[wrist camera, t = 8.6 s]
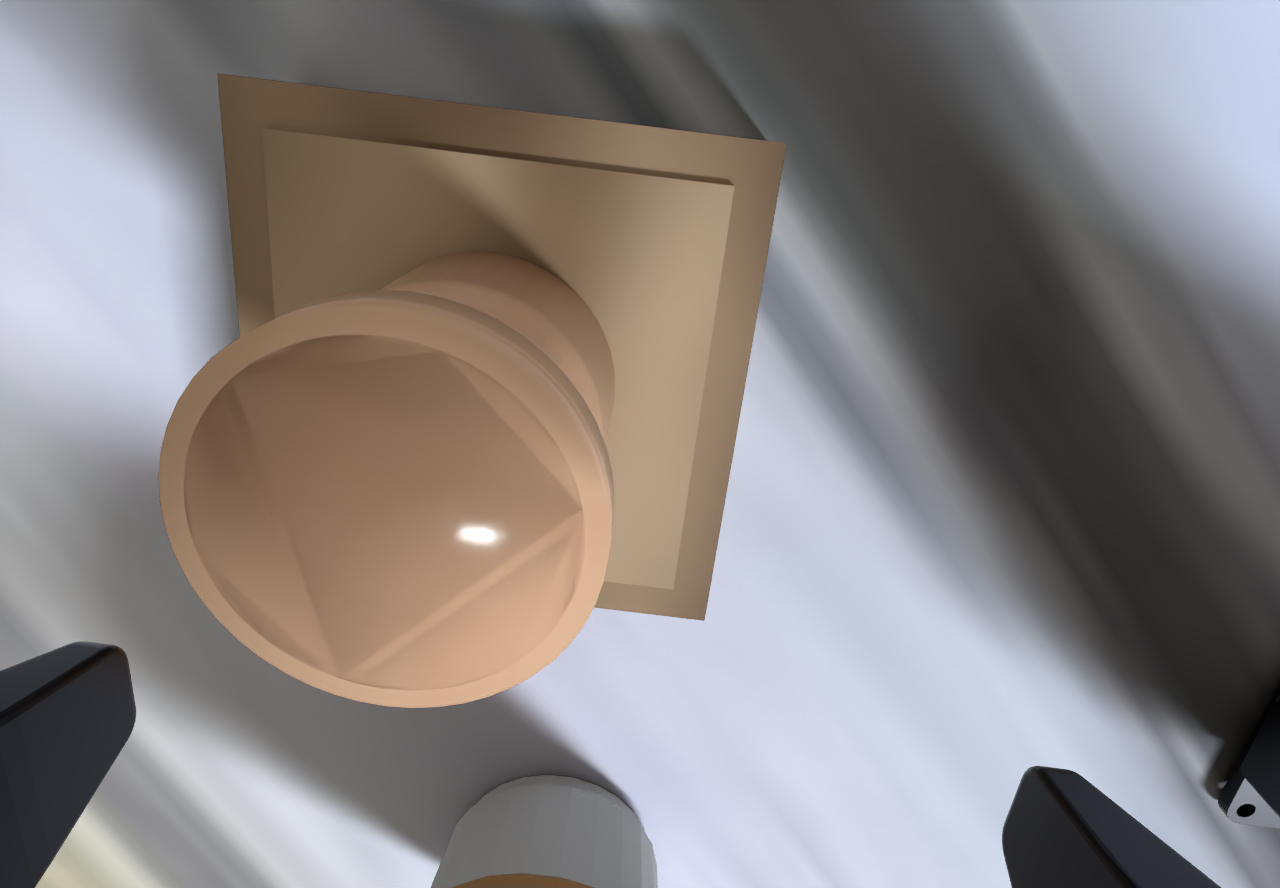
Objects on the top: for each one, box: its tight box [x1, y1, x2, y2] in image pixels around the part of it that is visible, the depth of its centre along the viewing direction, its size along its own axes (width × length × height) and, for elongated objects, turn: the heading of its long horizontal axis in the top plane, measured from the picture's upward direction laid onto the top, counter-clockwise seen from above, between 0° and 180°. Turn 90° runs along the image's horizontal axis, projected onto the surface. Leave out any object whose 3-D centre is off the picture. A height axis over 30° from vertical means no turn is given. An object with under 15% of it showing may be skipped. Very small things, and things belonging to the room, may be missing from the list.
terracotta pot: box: [158, 251, 615, 708], centre depth 12 cm, size 6×6×6 cm
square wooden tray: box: [218, 74, 787, 621], centre depth 17 cm, size 10×10×3 cm
